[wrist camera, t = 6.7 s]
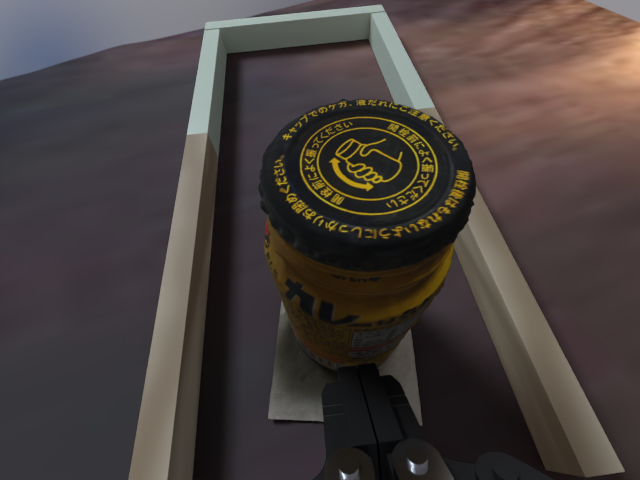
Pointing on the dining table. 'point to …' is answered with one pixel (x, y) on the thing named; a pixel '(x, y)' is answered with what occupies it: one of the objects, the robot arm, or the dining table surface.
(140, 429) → the wooden guide rails
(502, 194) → the dining table surface
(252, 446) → the dining table surface
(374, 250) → the condiment
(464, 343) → the dining table surface
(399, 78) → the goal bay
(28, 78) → the dining table surface
